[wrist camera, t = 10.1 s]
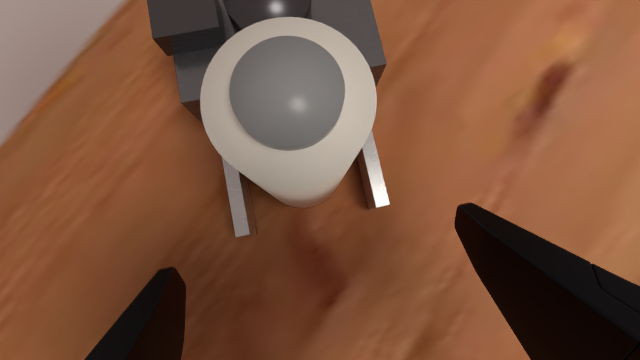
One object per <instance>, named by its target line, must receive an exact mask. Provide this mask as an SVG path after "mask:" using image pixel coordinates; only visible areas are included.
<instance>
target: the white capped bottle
mask: <svg viewBox="0 0 640 360" xmlns="http://www.w3.org/2000/svg"><path fill="white" fill-rule="evenodd" d="M376 107H377V95H376V86H375V82H374V78H373V75H372V72H371V70H370V67H369V65H368V63H367V62H366V60H365V58H364V56H363V55H362V54H361V52H360V51H359V50H358V48H357V47H356V46H355V45H354V44H353V43H352V42H351V41H350V40H349V39H348V38H347V37H345V36H344V35H343V34H341V33H340V32H338V31H337V30H335V29H333V28H332V27H330V26H327V25H325V24H323V23H321V22H317V21H314V20H311V19H305V18H300V17H278V18H272V19H267V20H264V21H260V22H257V23H255V24H252V25H250V26H248V27H246V28H244V29H243V30H241V31H239V32H238V33H236V34H235V35H234V36H232V37H231V38H230V39H229V40H227V41H226V42H225V43H224V45H223V46H222V47H221V48H220V49H219V50H218V51H217V53H216V54H215V55H214V57H213V59H212V60H211V62H210V64H209V66H208V68H207V70H206V73H205V75H204V79H203V83H202V87H201V95H200V110H201V116H202V121H203V124H204V127H205V130H206V133H207V135H208V137H209V139H210V141H211V143H212V144H213V146H214V147H215V149H216V150H217V152H218V153H219V154H220V155H221V156H222V157H223V158H224V159H225V160H226V161H227V162H228V163H229V164H230V165H231V166H233V167H234V168H235V169H236V170H238V171H239V172H241V173H242V174H243V175H245V176H246V177H247V178H249V179H250V180H251V181H253V182H254V183H256V184H257V185H258V186H260V187H261V188H262V189H264V190H265V191H266V192H268V193H269V194H271V195H272V196H273V197H275V198H276V199H277V200H279V201H280V202H282V203H284V204H286V205H288V206H291V207H295V208H309V207H314V206H316V205H319V204H321V203H323V202H324V201H326V200H327V199H328V198H329V197H330V196H331V195H332V194H333V193H334V191H335V190H336V188H337V187H338V185H339V183H340V182H341V180H342V179H343V177H344V175H345V174H346V172H347V171H348V169H349V167H350V166H351V164H352V163H353V161H354V159H355V158H356V156H357V155H358V153H359V151H360V150H361V148H362V147H363V145H364V143H365V142H366V140H367V138H368V136H369V134H370V132H371V129H372V126H373V123H374V120H375V114H376Z"/></svg>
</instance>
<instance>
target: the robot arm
mask: <svg viewBox="0 0 640 360" xmlns="http://www.w3.org/2000/svg"><path fill="white" fill-rule="evenodd" d="M455 229H456V232H457V234H458V236H459V238H460V240H461V242H462V244H463V246H464V248H465V250H466V253H467V255H468V257H469V259H470V261H471V263H472V265H473V267H474V269H475V271H476V273H477V274H478V276H479V278H480V279H481V281H482V282H483V284H484V286H485V287H486V289H487V290H488V292H489V294H490V295H491V297H492V298H493V300H494V302H495V303H496V305H497V306H498V308H499V310H500V311H501V313H502V314H503V316H504V318H505V319H506V321H507V322H508V324H509V326H510V327H511V329H512V330H513V332H514V334H515V335H516V337H517V338H518V340H519V342H520V343H521V345H522V346H523V348H524V350H525V351H526V353H527V354H528V356H529V358H530V359H531V360H640V286H638V285H636V284H634V283H631V282H629V281H627V280H625V279H623V278H621V277H619V276H617V275H615V274H613V273H611V272H609V271H607V270H605V269H603V268H601V267H599V266H597V265H595V264H591V263H590V262H589V261H587V260H585V259H583V258H581V257H579V256H577V255H575V254H573V253H571V252H569V251H567V250H565V249H563V248H561V247H559V246H557V245H555V244H553V243H551V242H549V241H547V240H545V239H543V238H541V237H539V236H537V235H535V234H533V233H531V232H529V231H527V230H525V229H523V228H521V227H519V226H517V225H515V224H513V223H511V222H509V221H507V220H505V219H503V218H501V217H499V216H497V215H495V214H493V213H491V212H489V211H487V210H485V209H483V208H481V207H479V206H477V205H476V204H473V203H465V204H461V205H459V206H458V207H457V211H456V217H455ZM185 302H186V286H185V283H184V281H183V279H182V278H181V276H180V275H179V273H178V271H177V270H176V268H174V267H168V268H163V269H160V270H159V271H158V272H157V273H156V274H155V275H154V276H153V277H152V279H151V280H150V281H149V282H148V284H147V285H146V286H145V287H144V288H143V290H142V291H141V292H140V293H139V294H138V296H137V297H136V298H135V299H134V300H133V302H132V303H131V304H130V305H129V306H128V308H127V309H126V310H125V311H124V312H123V314H122V315H121V316H120V317H119V318H118V320H117V321H116V322H115V323H114V324H113V326H112V327H111V328H110V329H109V330H108V332H107V333H106V334H105V335H104V336H103V338H102V339H101V340H100V341H99V342H98V344H97V345H96V346H95V347H94V349H93V350H92V351H91V352H90V353H89V355H88V356H87V357H86V358H85V359H84V360H181V356H182V350H183V342H184V330H185Z"/></svg>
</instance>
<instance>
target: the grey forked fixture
mask: <svg viewBox="0 0 640 360" xmlns="http://www.w3.org/2000/svg"><path fill="white" fill-rule="evenodd" d="M147 4H148V10H149V17H150V24H151V30H152V37H153V39H154V41H155V42H156V43H157V44H158V45H159V46H160V48H161V49H162V50H163V51H164V52H165V54H166V55H167V56H171V55H173V56H174V63H175V69H176V75H177V81H178V88H179V94H180V100H181V103H182V104H183V105H184V106H185V107H186V108H187V109H188V110H189V111H190V112H191V113H192V114H193V115H194V116H195V117H196V118H198V119H199V120H200V121H201V122H202V123H203V121H202V116H201V110H200V95H201V87H202V83H203V79H204V75H205V73H206V70H207V68H208V66H209V64H210V62H211V60H212V59H213V57H214V55H215V54H216V53H217V51H218V50H219V49H220V48H221V47H222V46H223V45H224V43H225V42H226V41H227V40H229V39H230V38H231V37H232V36H234V35H235V34H236V33H238V32H239V31H241V30H243V29H244V28H246V27H248V26H250V25H252V24H255V23H257V22H260V21H264V20H267V19H272V18H278V17H300V18H305V19H311V20H314V21H317V22H321V23H323V24H325V25H327V26H330V27H332V28H333V29H335V30H337V31H338V32H340V33H341V34H343V35H344V36H345V37H347V38H348V39H349V40H350V41H351V42H352V43H353V44H354V45H355V46H356V47H357V48H358V50H359V51H360V52H361V54H362V55H363V56H364V58H365V60H366V62H367V63H368V65H369V67H370V70H371V72H372V75H373V78H374V82H375V86H377V84H378V82H379V79H380V77H381V75H382V73H383V71H384V68H385V66H386V60H385V56H384V52H383V48H382V44H381V40H380V36H379V32H378V28H377V25H376V21H375V17H374V13H373V9H372V5H371V1H370V0H147ZM356 157H357V161H358V165H359V170H360V174H361V178H362V183H363V187H364V191H365V195H366V200H367V204H368V208H369V209H374V208H379V207H383V206H386V205H390V204H389V200H388V196H387V191H386V187H385V183H384V179H383V175H382V171H381V167H380V162H379V158H378V154H377V150H376V146H375V142H374V138H373V133H372V129H371V132H370V134H369V136H368V138H367V140H366V142H365V143H364V145H363V147H362V148H361V150H360V151H359V153H358V155H357V156H356ZM222 161H223V167H224V172H225V178H226V184H227V190H228V196H229V201H230V207H231V213H232V219H233V224H234V230H235V236H236V237H242V236H247V235H252V234H257V229H256V224H255V218H254V213H253V208H252V202H251V197H250V191H249V186H248V180H247V177H246V176H245V175H243V174H242V173H241V172H239V171H238V170H236V169H235V168H234V167H233V166H231V165H230V164H229V163H228V162H227V161H226V160H225V159H224V158H223V157H222Z"/></svg>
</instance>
